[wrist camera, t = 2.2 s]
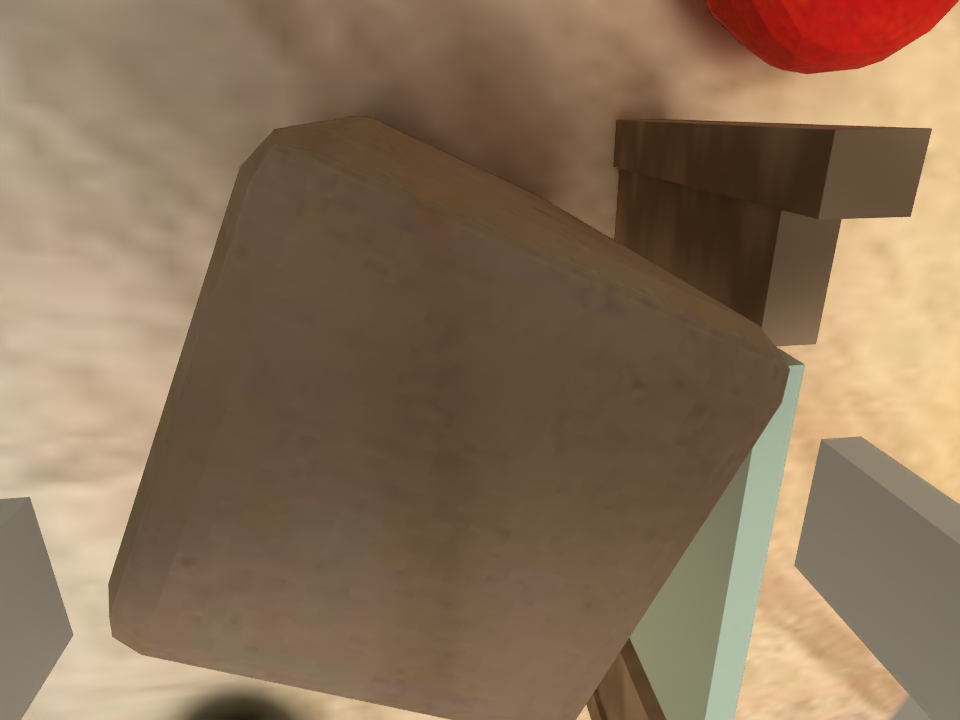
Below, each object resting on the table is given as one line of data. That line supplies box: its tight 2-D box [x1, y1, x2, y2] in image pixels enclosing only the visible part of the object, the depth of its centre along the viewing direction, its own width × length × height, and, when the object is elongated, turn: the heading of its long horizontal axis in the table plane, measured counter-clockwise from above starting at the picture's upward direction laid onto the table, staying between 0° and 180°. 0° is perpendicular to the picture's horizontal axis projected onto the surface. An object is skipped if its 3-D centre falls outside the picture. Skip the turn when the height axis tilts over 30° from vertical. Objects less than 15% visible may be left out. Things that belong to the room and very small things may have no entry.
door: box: [629, 347, 805, 720], centre depth 28 cm, size 19×1×13 cm, turn 0°
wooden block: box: [108, 117, 790, 720], centre depth 20 cm, size 10×10×20 cm
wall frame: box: [587, 120, 932, 720], centre depth 27 cm, size 34×2×15 cm, turn 0°
